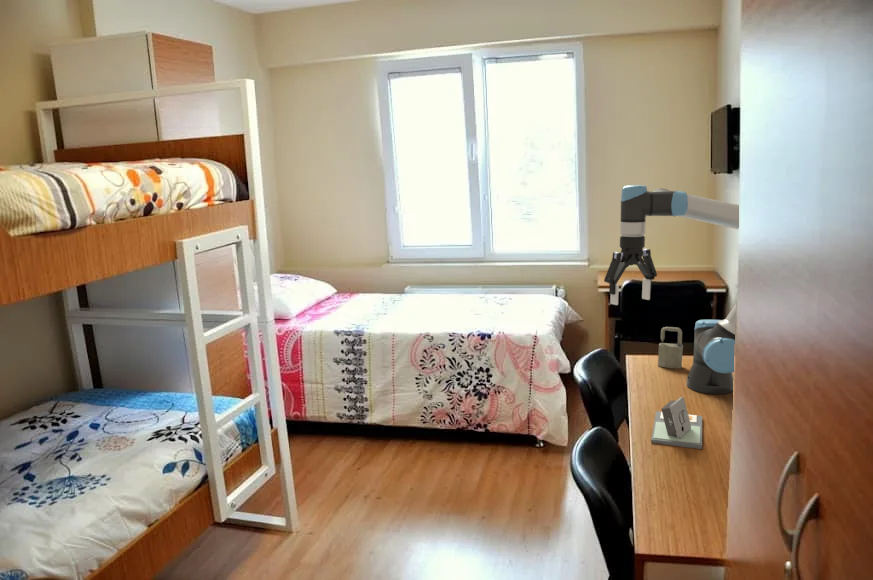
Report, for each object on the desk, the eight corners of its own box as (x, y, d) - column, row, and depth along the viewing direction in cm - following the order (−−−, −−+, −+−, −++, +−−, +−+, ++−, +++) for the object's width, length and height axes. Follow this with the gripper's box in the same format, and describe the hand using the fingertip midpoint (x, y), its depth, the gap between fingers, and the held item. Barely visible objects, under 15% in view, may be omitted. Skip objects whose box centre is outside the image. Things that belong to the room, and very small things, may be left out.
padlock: (658, 363, 253) (660, 325, 250) (681, 366, 250) (683, 326, 247) (657, 366, 250) (659, 327, 247) (681, 369, 246) (682, 329, 243)
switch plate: (656, 414, 204) (656, 409, 204) (701, 419, 200) (702, 414, 199) (650, 442, 184) (651, 437, 184) (701, 449, 180) (702, 444, 179)
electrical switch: (680, 439, 183) (678, 407, 182) (661, 437, 186) (659, 404, 185) (691, 428, 190) (690, 397, 189) (673, 426, 193) (671, 395, 192)
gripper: (652, 231, 219) (649, 295, 223) (593, 237, 207) (592, 304, 211) (670, 233, 212) (667, 298, 216) (610, 239, 201) (608, 308, 205)
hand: (630, 301), depth 214 cm, fingers open, 13 cm apart
